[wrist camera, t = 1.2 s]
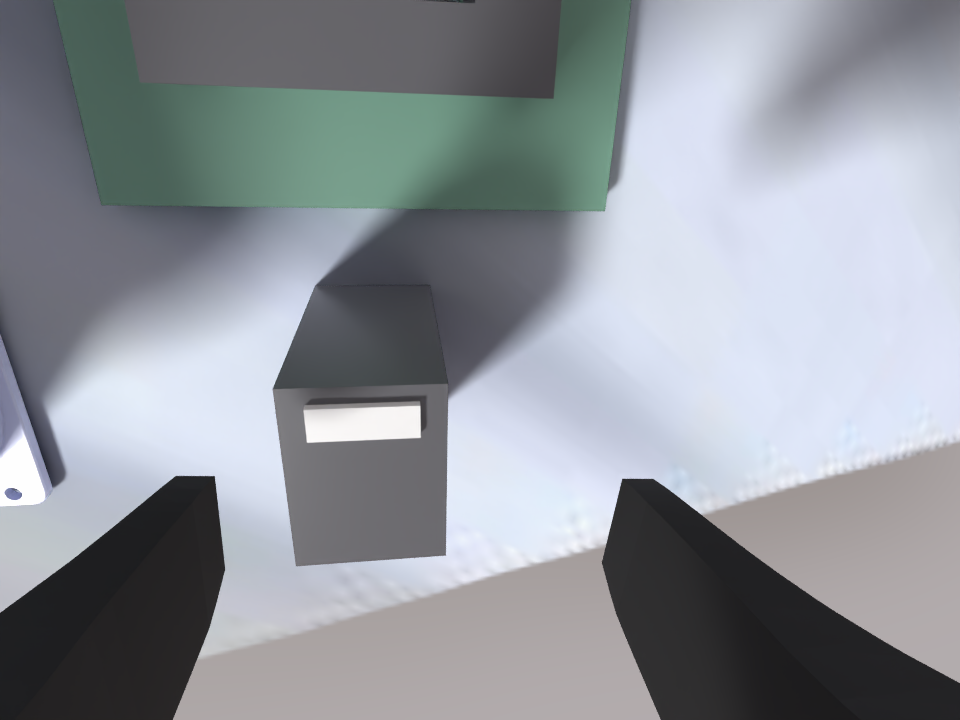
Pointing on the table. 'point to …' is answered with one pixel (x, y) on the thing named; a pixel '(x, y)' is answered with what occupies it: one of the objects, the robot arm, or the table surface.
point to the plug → (365, 426)
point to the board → (348, 101)
